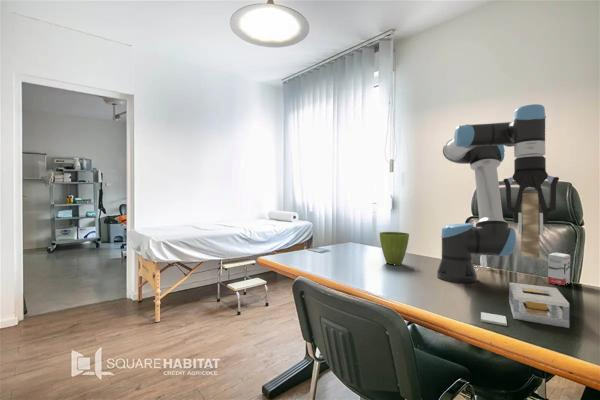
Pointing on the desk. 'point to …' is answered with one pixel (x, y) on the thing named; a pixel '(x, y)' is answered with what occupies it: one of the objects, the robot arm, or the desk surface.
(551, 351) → the desk surface
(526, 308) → the grey slotted box
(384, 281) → the desk surface
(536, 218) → the tan wooden bar
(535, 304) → the breaker button
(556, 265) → the ink box
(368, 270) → the desk surface
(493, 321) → the rest pad
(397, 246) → the flower pot
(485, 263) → the figurine
